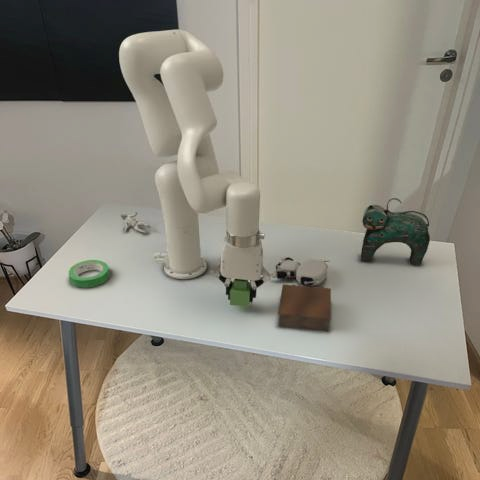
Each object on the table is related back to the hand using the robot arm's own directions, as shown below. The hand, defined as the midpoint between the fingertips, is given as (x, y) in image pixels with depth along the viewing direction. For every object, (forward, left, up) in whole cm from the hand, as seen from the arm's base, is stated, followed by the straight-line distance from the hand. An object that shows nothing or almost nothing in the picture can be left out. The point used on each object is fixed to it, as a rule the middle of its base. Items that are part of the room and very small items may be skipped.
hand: (241, 297), depth 120 cm
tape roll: (-45, +7, -3) cm, 46 cm away
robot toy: (+15, +16, -3) cm, 22 cm away
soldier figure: (-42, +38, -3) cm, 57 cm away
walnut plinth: (+17, -1, -3) cm, 17 cm away
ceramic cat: (+41, +30, -3) cm, 51 cm away
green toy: (0, 0, -1) cm, 1 cm away
